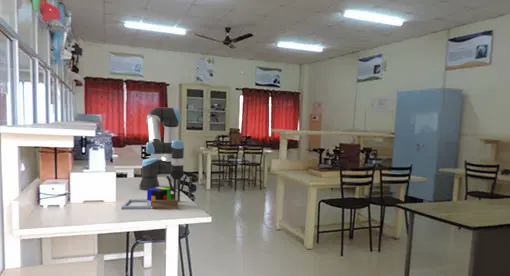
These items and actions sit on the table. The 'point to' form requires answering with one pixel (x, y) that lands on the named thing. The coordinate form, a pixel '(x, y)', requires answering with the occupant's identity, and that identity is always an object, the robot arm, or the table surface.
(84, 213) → the table surface
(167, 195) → the puzzle toy
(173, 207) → the channel
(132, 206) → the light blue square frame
